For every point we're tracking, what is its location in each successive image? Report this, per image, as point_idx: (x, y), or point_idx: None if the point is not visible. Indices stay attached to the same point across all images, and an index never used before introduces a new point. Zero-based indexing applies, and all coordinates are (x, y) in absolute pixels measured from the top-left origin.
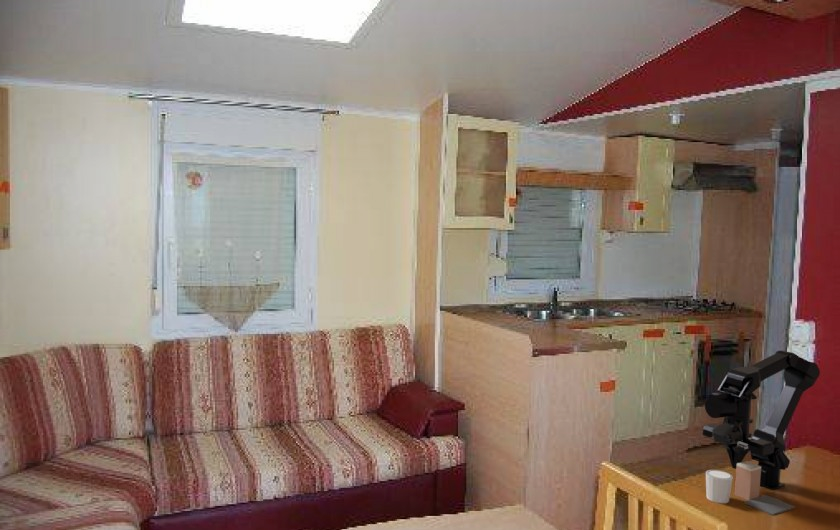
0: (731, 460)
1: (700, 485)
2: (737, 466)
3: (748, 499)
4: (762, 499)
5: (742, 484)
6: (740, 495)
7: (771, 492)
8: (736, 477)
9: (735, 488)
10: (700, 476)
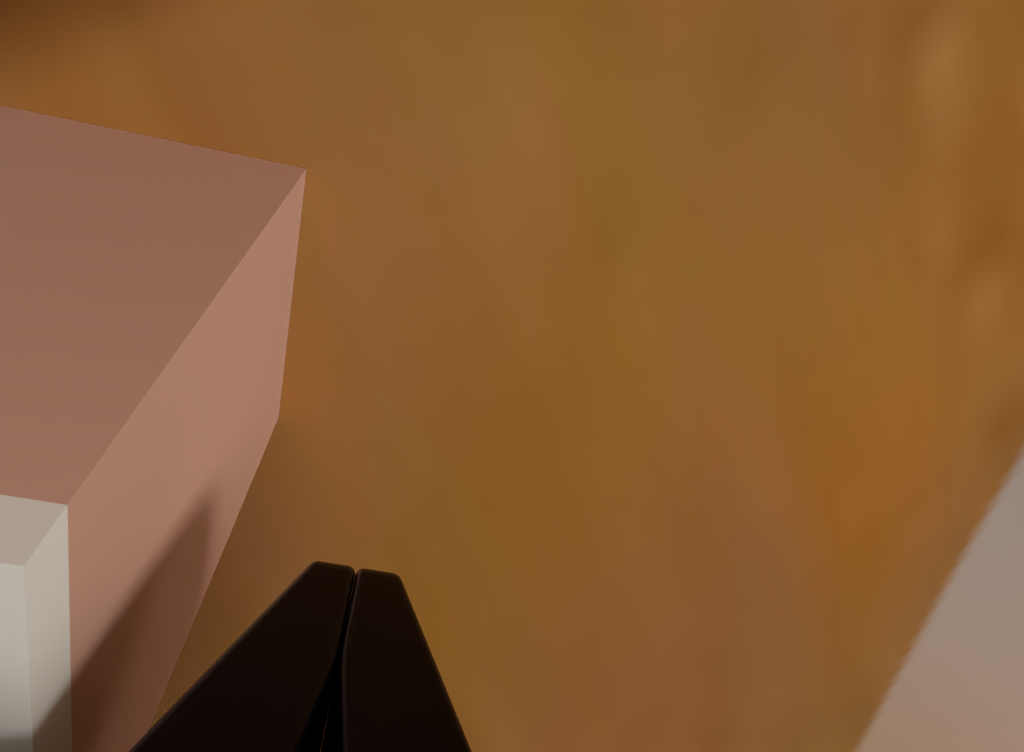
0: (403, 732)
1: (918, 56)
2: (33, 483)
3: (4, 114)
4: None
5: (43, 217)
6: (171, 148)
7: None
8: (190, 299)
9: (264, 199)
10: (1004, 450)
